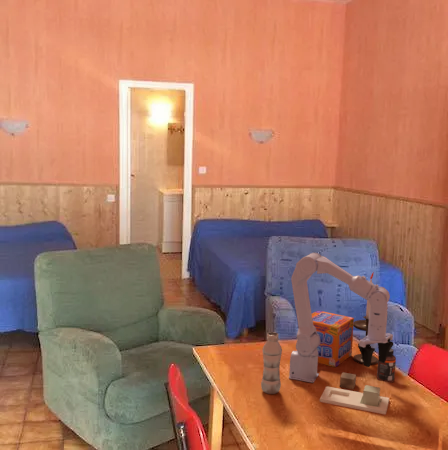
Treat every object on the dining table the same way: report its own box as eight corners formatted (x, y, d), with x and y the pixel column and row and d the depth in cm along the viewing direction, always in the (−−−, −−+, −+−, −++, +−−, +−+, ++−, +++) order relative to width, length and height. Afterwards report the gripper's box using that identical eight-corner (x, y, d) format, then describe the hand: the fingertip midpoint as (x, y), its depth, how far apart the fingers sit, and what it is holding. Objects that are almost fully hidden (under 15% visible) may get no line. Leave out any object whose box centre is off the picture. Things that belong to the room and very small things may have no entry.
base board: (319, 406, 174) (320, 398, 174) (326, 393, 183) (326, 386, 183) (385, 419, 167) (385, 411, 167) (388, 405, 176) (389, 397, 176)
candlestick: (379, 356, 218) (385, 269, 213) (381, 367, 207) (387, 275, 203) (351, 354, 220) (356, 267, 215) (351, 364, 209) (357, 273, 205)
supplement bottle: (395, 384, 192) (397, 353, 191) (377, 382, 193) (379, 351, 192) (393, 377, 198) (395, 347, 196) (376, 375, 199) (378, 345, 198)
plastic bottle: (283, 390, 185) (285, 332, 182) (276, 398, 179) (278, 338, 176) (265, 386, 188) (267, 329, 185) (257, 394, 182) (260, 335, 179)
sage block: (362, 405, 172) (363, 390, 171) (364, 399, 176) (365, 384, 175) (377, 408, 170) (378, 393, 170) (379, 402, 174) (380, 387, 174)
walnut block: (339, 391, 186) (340, 377, 185) (341, 386, 190) (342, 372, 189) (353, 393, 184) (353, 379, 183) (355, 388, 188) (356, 374, 187)
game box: (315, 346, 227) (317, 310, 225) (352, 355, 218) (354, 317, 216) (298, 358, 214) (300, 319, 212) (336, 367, 206) (338, 327, 204)
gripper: (372, 331, 176) (369, 372, 177) (401, 324, 184) (398, 363, 186) (355, 325, 181) (352, 364, 183) (384, 318, 190) (381, 356, 191)
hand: (374, 363), depth 185 cm, fingers open, 7 cm apart
